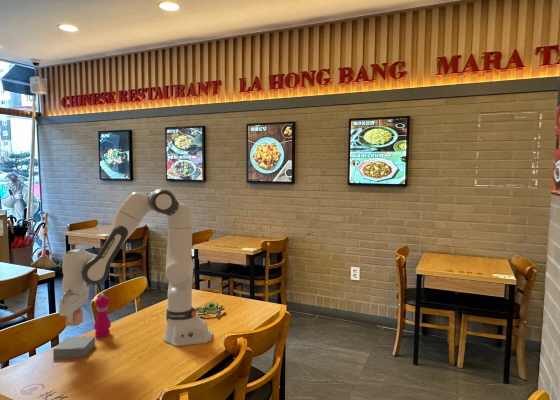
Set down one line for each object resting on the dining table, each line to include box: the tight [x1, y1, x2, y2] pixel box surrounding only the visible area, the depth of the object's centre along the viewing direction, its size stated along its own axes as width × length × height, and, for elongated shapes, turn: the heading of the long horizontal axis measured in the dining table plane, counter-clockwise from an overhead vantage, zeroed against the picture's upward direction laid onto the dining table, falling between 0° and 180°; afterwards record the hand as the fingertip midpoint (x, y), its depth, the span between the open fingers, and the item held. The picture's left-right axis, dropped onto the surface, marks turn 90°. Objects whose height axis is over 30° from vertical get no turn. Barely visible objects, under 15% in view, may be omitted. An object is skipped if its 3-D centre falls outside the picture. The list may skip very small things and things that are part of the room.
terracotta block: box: [64, 309, 84, 327], centre depth 165 cm, size 5×5×5 cm
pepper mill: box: [93, 292, 112, 338], centre depth 184 cm, size 7×7×20 cm
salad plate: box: [195, 301, 224, 318], centre depth 216 cm, size 19×18×5 cm
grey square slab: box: [52, 336, 96, 359], centre depth 166 cm, size 12×12×4 cm
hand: (74, 318), depth 165 cm, fingers closed on terracotta block, 5 cm apart
